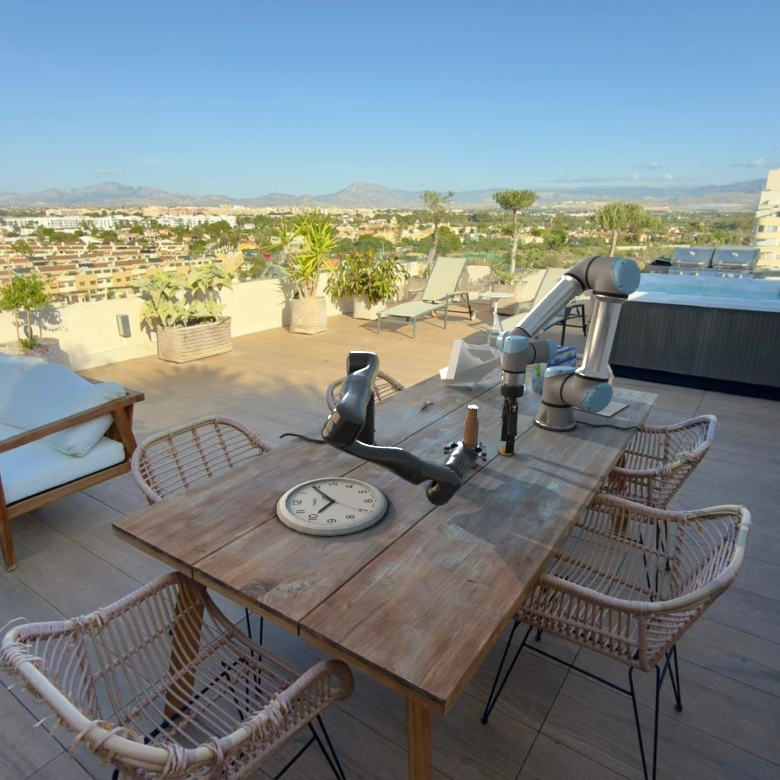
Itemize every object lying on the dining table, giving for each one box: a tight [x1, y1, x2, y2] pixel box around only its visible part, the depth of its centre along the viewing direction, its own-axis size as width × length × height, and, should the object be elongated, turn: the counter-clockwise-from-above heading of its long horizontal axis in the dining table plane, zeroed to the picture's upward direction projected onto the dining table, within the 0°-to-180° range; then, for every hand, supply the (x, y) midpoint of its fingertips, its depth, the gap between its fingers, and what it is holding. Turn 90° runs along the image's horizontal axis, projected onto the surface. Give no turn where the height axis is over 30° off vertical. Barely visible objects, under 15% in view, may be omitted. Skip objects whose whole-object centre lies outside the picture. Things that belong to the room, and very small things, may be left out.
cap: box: [499, 445, 513, 457], centre depth 178 cm, size 4×4×2 cm
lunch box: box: [531, 345, 577, 394], centre depth 245 cm, size 26×11×21 cm, turn 134°
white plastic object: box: [438, 310, 531, 397], centre depth 245 cm, size 37×45×31 cm
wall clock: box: [276, 476, 388, 537], centre depth 142 cm, size 30×2×30 cm
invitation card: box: [573, 400, 629, 418], centre depth 226 cm, size 21×1×15 cm
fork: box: [420, 396, 435, 411], centre depth 223 cm, size 3×16×2 cm, turn 160°
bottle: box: [462, 404, 480, 468], centre depth 166 cm, size 5×5×20 cm
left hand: (472, 442), depth 169 cm, fingers closed on bottle, 4 cm apart
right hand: (506, 446), depth 177 cm, fingers open, 9 cm apart
